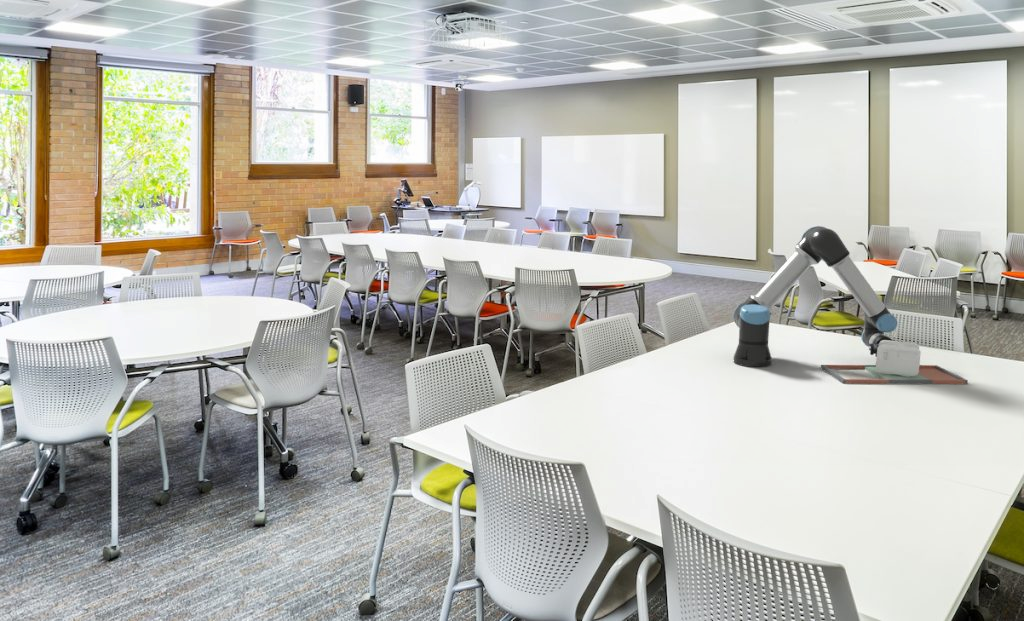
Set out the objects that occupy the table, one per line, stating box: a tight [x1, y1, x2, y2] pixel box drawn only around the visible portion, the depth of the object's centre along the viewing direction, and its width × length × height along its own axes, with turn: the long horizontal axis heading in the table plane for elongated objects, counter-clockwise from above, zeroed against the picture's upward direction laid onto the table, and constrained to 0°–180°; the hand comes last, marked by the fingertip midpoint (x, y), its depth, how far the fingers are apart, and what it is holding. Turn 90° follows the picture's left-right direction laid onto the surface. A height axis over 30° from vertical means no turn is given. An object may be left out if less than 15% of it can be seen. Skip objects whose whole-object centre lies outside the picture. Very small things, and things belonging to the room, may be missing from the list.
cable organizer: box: [875, 340, 921, 377], centre depth 305 cm, size 15×11×12 cm
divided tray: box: [820, 364, 969, 385], centre depth 306 cm, size 46×23×1 cm, turn 89°
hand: (902, 356), depth 301 cm, fingers closed on cable organizer, 11 cm apart
